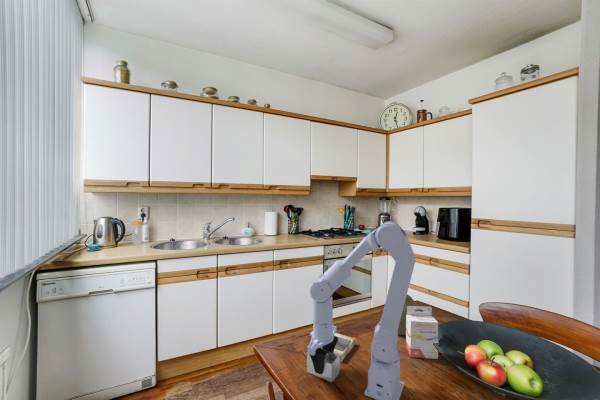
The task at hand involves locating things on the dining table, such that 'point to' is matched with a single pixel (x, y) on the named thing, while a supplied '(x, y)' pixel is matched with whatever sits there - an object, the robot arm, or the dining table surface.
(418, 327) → the ink cartridge box
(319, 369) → the robot arm
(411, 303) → the fruit
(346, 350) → the stand
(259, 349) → the dining table surface
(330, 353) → the housing
